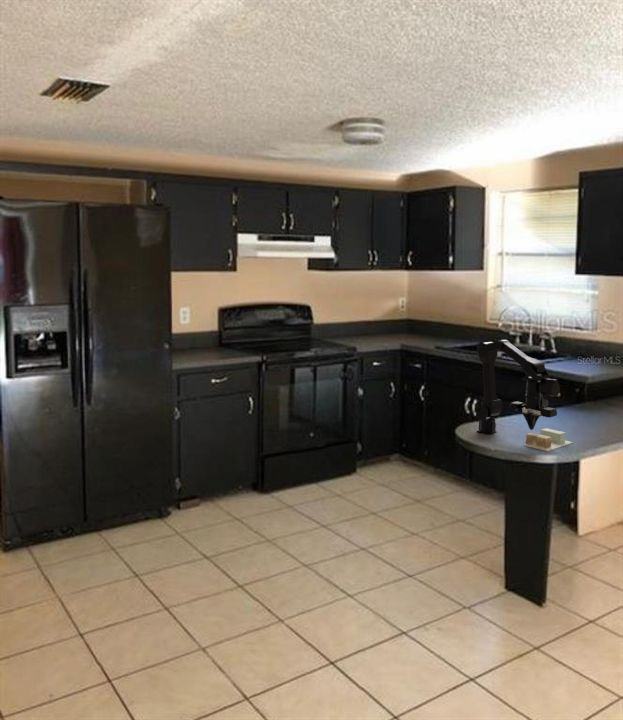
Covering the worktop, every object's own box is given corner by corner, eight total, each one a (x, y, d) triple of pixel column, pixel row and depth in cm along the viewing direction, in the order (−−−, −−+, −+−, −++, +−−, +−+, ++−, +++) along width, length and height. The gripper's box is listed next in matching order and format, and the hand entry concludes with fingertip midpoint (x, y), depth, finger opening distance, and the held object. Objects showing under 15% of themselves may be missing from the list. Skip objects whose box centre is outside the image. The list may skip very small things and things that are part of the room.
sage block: (540, 429, 290) (560, 434, 283) (545, 428, 293) (565, 432, 286) (540, 438, 291) (559, 443, 284) (545, 437, 293) (564, 441, 287)
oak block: (526, 434, 283) (546, 438, 276) (531, 432, 286) (551, 437, 279) (525, 443, 284) (545, 448, 277) (531, 441, 286) (550, 446, 280)
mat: (524, 445, 282) (524, 444, 282) (549, 437, 294) (549, 436, 294) (548, 451, 274) (548, 450, 274) (572, 442, 286) (572, 442, 286)
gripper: (565, 393, 279) (562, 431, 282) (524, 386, 293) (522, 422, 295) (550, 397, 272) (548, 435, 274) (509, 389, 286) (507, 426, 288)
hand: (531, 429), depth 283 cm, fingers closed
